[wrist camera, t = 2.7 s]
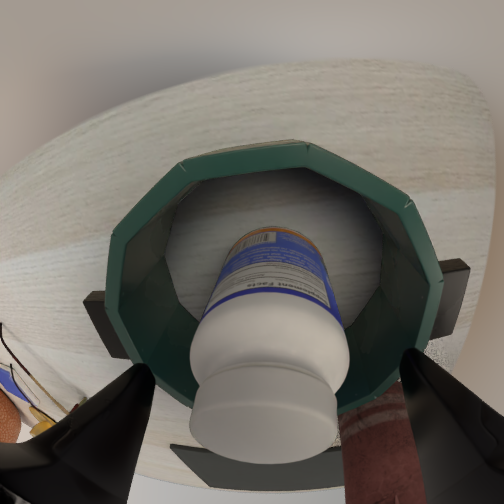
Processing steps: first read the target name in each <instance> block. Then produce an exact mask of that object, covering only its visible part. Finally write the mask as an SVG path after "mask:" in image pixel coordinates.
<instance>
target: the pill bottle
mask: <svg viewBox="0 0 504 504" xmlns="http://www.w3.org/2000/svg"><path fill="white" fill-rule="evenodd" d="M349 360H350V358H349V348H348V344H347V339H346V335H345V332H344V328H343V324H342V321H341V317H340V314H339V310H338V307H337V304H336V300H335V297H334V293H333V290H332V286H331V283H330V280H329V276H328V273H327V269H326V266H325V263H324V261H323V258H322V256H321V254H320V252H319V250H318V249H317V247H316V246H315V245H314V244H313V243H312V242H311V241H310V240H309V239H308V238H306V237H305V236H303V235H302V234H300V233H298V232H296V231H294V230H291V229H288V228H282V227H265V228H261V229H257V230H255V231H252V232H250V233H248V234H247V235H245V236H244V237H242V238H241V239H240V240H239V241H238V242H237V243H236V244H235V245H234V246H233V248H232V249H231V251H230V253H229V255H228V257H227V259H226V261H225V264H224V266H223V269H222V271H221V274H220V276H219V278H218V281H217V283H216V285H215V288H214V290H213V292H212V295H211V297H210V300H209V302H208V304H207V307H206V309H205V311H204V314H203V316H202V319H201V321H200V323H199V326H198V328H197V331H196V333H195V335H194V338H193V341H192V344H191V348H190V364H191V369H192V372H193V375H194V377H195V379H196V381H197V382H198V384H199V386H200V387H199V389H198V390H197V393H196V397H195V402H194V406H193V410H192V414H191V417H190V423H189V427H190V431H191V434H192V435H193V437H194V438H195V439H196V440H197V441H198V442H199V443H200V444H201V445H202V446H204V447H205V448H207V449H208V450H210V451H212V452H214V453H216V454H219V455H221V456H224V457H227V458H230V459H234V460H238V461H243V462H249V463H256V464H280V463H290V462H296V461H301V460H304V459H308V458H310V457H313V456H315V455H318V454H320V453H322V452H323V451H325V450H326V449H328V448H329V447H330V446H331V445H332V444H333V443H334V441H335V439H336V437H337V430H338V426H337V400H336V397H335V395H334V394H335V393H336V392H337V390H338V389H339V388H340V387H341V385H342V383H343V382H344V380H345V378H346V375H347V372H348V368H349Z"/></svg>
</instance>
